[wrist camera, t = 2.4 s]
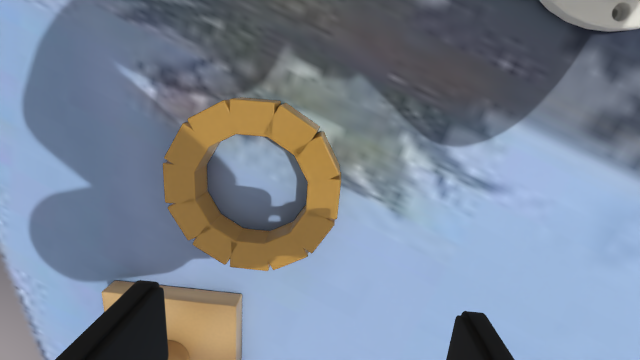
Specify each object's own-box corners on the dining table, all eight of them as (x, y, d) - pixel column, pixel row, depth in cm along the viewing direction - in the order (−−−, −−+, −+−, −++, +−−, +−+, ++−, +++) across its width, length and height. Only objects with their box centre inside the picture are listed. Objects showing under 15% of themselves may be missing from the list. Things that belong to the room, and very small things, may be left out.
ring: (174, 91, 20) (157, 92, 19) (347, 106, 20) (348, 108, 18) (182, 246, 24) (168, 260, 22) (331, 262, 23) (330, 278, 21)
